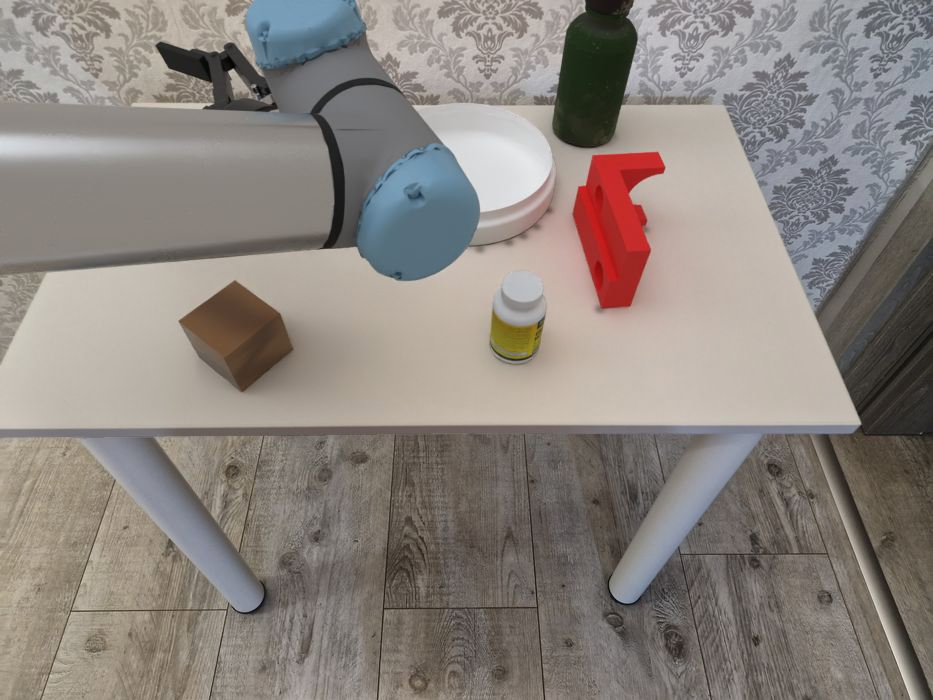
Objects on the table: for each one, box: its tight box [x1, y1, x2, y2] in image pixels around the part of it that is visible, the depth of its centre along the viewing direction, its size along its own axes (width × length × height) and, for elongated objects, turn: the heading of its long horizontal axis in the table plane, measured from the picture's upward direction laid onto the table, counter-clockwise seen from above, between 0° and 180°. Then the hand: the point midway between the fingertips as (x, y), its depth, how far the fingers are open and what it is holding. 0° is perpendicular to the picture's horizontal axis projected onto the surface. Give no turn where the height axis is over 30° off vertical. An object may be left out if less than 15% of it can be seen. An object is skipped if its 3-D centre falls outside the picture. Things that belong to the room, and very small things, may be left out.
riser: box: [177, 279, 294, 393], centre depth 72 cm, size 8×8×7 cm
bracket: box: [572, 151, 667, 309], centre depth 81 cm, size 18×10×10 cm
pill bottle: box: [489, 270, 548, 365], centre depth 72 cm, size 6×6×11 cm
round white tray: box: [416, 102, 557, 247], centre depth 92 cm, size 27×27×6 cm
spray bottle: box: [551, 0, 639, 147], centre depth 92 cm, size 10×10×25 cm
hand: (117, 93), depth 63 cm, fingers open, 13 cm apart
